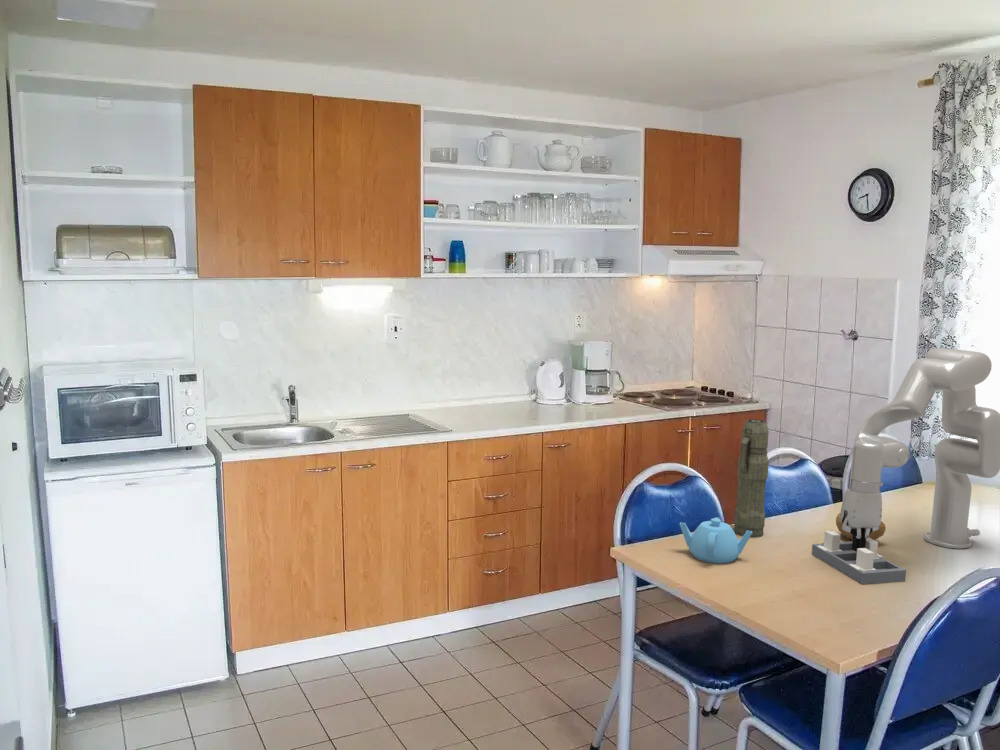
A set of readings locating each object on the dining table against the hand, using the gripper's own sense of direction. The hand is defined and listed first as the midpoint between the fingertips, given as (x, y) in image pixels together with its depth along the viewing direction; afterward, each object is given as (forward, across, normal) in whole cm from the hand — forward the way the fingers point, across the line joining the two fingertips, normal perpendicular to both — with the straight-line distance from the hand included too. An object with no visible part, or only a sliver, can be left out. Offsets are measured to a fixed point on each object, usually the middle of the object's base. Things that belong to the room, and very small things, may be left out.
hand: (858, 551), depth 223 cm
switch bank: (+5, 0, 0) cm, 5 cm away
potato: (+5, -15, -19) cm, 25 cm away
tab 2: (+4, +3, +7) cm, 8 cm away
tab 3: (+4, -3, 0) cm, 5 cm away
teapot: (+5, +35, -15) cm, 38 cm away
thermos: (+5, +15, -31) cm, 35 cm away
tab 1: (+4, +3, -7) cm, 9 cm away
